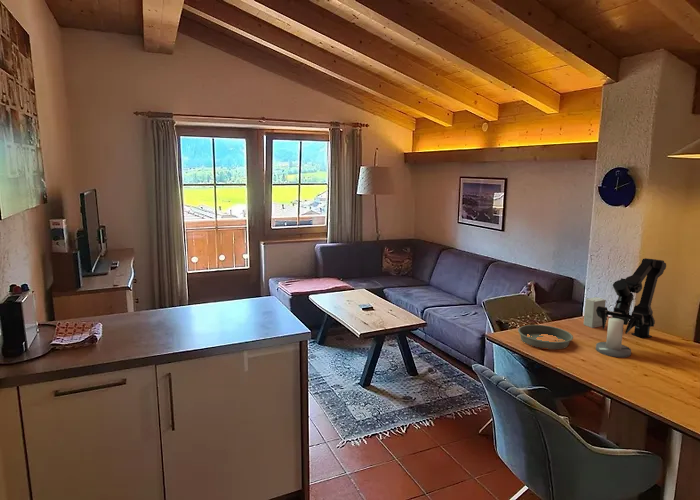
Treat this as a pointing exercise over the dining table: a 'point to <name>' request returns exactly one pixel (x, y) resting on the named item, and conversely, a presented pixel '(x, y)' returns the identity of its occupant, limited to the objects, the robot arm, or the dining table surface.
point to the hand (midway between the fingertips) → (614, 330)
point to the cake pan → (542, 329)
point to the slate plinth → (620, 353)
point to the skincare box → (593, 312)
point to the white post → (614, 333)
